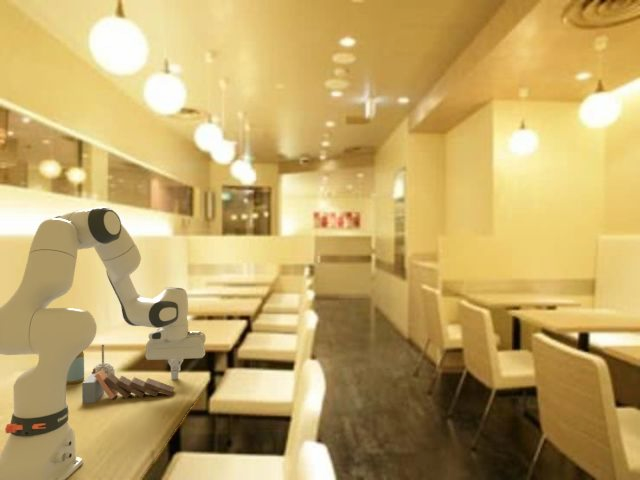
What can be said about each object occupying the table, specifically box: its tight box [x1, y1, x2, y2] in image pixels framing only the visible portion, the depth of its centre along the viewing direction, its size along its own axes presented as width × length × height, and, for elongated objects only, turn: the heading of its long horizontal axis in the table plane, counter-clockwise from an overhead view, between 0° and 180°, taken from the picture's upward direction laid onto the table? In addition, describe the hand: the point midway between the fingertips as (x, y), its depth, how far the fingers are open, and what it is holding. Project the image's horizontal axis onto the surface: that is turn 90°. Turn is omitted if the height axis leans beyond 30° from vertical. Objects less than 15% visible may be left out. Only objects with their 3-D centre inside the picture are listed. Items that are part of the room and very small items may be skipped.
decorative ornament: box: [91, 344, 116, 376], centre depth 182 cm, size 8×8×15 cm
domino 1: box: [94, 369, 119, 400], centre depth 167 cm, size 2×5×10 cm
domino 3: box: [116, 375, 146, 398], centre depth 168 cm, size 2×5×10 cm
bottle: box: [66, 350, 85, 385], centre depth 185 cm, size 7×7×15 cm
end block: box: [81, 373, 105, 404], centre depth 166 cm, size 10×4×7 cm, turn 9°
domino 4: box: [129, 376, 160, 397], centre depth 169 cm, size 2×5×10 cm
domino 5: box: [143, 377, 175, 397], centre depth 170 cm, size 2×5×10 cm
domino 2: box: [103, 373, 132, 399], centre depth 168 cm, size 2×5×10 cm
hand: (175, 371), depth 171 cm, fingers closed
